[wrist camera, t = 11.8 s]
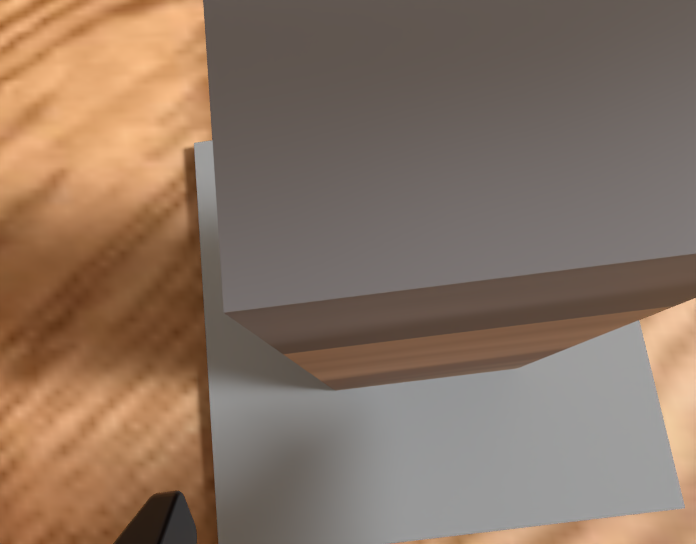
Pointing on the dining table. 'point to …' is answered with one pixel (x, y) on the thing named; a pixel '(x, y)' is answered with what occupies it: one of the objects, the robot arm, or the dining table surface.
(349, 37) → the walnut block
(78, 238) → the dining table surface
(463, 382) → the slate mat
